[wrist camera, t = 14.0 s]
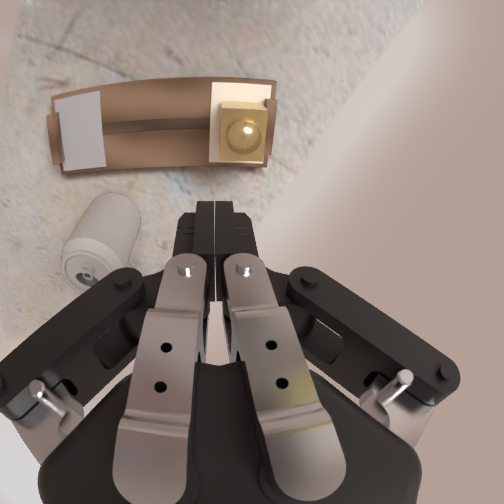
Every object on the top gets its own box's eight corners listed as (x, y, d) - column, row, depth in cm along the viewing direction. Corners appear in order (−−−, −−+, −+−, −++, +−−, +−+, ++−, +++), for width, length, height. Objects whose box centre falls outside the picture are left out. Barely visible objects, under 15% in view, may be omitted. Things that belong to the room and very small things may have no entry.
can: (87, 228, 34) (55, 290, 25) (95, 182, 30) (55, 239, 21) (135, 244, 37) (116, 310, 28) (148, 199, 33) (125, 262, 24)
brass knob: (221, 101, 25) (222, 109, 21) (260, 103, 26) (270, 112, 21) (218, 146, 28) (219, 164, 24) (256, 147, 29) (264, 165, 25)
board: (57, 94, 22) (44, 99, 20) (273, 80, 26) (279, 82, 24) (67, 169, 29) (56, 180, 26) (264, 162, 32) (269, 172, 30)
